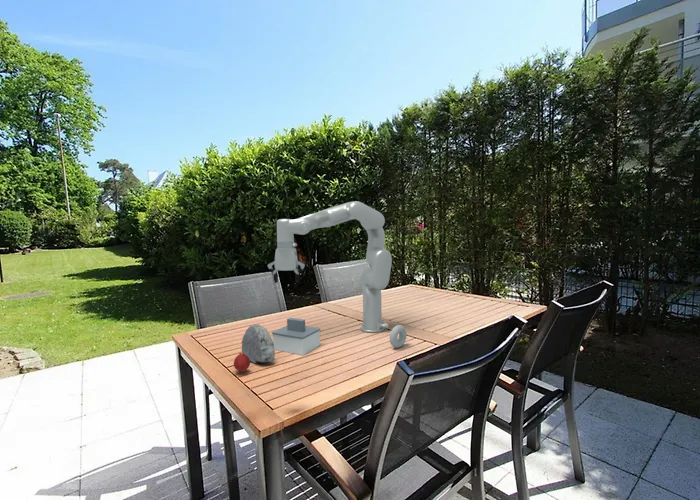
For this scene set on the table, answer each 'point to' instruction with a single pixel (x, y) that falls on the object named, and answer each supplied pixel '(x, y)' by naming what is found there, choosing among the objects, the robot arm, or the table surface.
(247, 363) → the onion
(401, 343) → the donut
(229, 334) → the table surface
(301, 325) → the lid
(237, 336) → the table surface
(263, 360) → the decorative rock
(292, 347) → the tub
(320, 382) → the table surface
